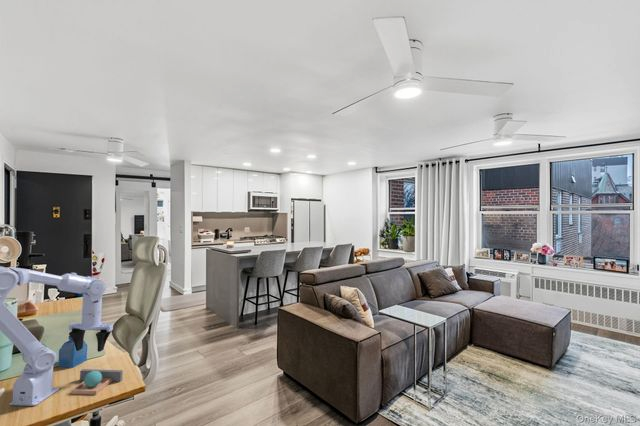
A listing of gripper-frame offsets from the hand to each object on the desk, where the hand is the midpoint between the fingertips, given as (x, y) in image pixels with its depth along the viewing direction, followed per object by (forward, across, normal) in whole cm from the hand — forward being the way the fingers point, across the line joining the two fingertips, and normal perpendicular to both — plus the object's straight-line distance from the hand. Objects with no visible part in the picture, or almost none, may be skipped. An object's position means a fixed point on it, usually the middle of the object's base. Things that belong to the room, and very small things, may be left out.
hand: (90, 350), depth 114 cm
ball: (+10, -6, +6) cm, 12 cm away
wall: (+10, -5, +1) cm, 11 cm away
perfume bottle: (+10, +13, -10) cm, 20 cm away
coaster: (+10, -6, +6) cm, 13 cm away
